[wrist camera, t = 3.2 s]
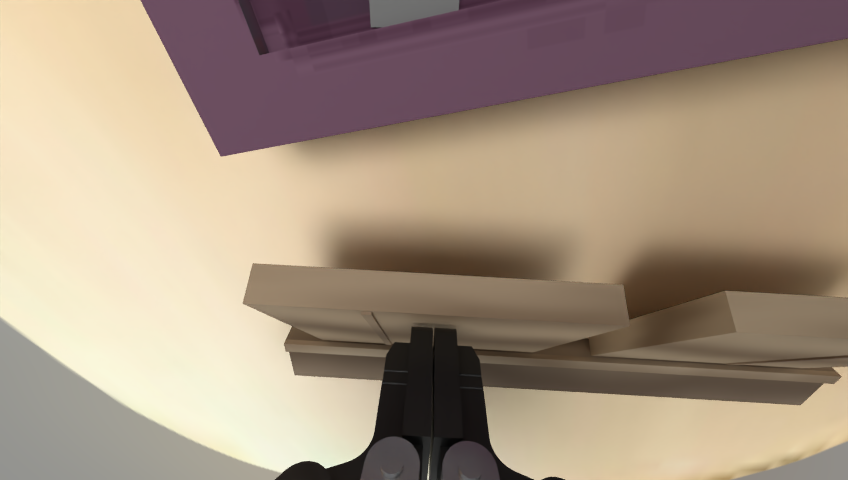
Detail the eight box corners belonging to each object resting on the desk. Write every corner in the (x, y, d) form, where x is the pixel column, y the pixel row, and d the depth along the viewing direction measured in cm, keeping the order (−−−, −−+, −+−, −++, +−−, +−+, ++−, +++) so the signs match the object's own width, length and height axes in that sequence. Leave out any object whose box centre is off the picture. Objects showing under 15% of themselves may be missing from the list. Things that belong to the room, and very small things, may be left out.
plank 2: (724, 290, 10) (737, 335, 10) (1101, 312, 10) (1132, 358, 10) (587, 332, 19) (591, 357, 18) (795, 344, 19) (803, 369, 18)
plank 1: (252, 263, 10) (241, 306, 10) (623, 285, 10) (630, 329, 10) (326, 316, 19) (322, 341, 18) (531, 328, 19) (533, 353, 18)
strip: (294, 321, 20) (283, 343, 18) (813, 351, 19) (841, 376, 18) (302, 356, 21) (293, 379, 20) (781, 385, 21) (805, 410, 20)
